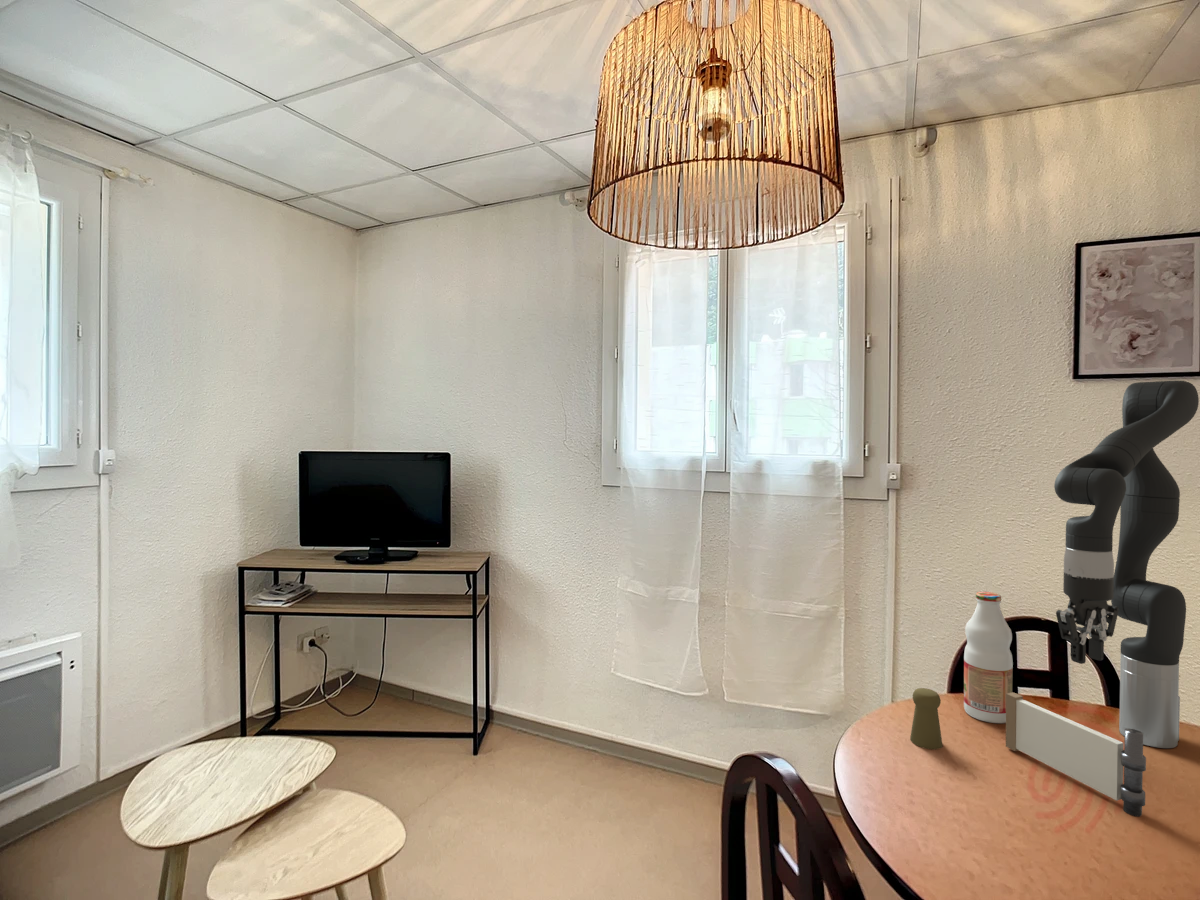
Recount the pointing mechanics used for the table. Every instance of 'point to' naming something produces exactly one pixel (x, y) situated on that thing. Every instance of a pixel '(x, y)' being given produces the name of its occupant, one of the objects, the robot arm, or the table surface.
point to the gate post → (1133, 773)
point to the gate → (1065, 745)
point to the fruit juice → (987, 661)
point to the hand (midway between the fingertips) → (1087, 660)
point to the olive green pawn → (926, 719)
